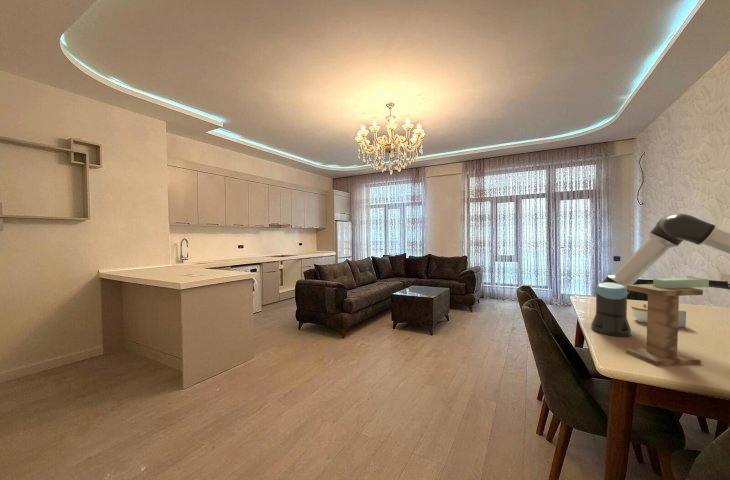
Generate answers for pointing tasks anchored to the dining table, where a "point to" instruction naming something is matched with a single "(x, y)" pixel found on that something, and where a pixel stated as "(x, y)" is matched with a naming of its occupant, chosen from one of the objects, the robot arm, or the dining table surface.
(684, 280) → the sage bar
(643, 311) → the lidded jar
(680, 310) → the medicine box
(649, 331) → the walnut stand
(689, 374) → the dining table surface
